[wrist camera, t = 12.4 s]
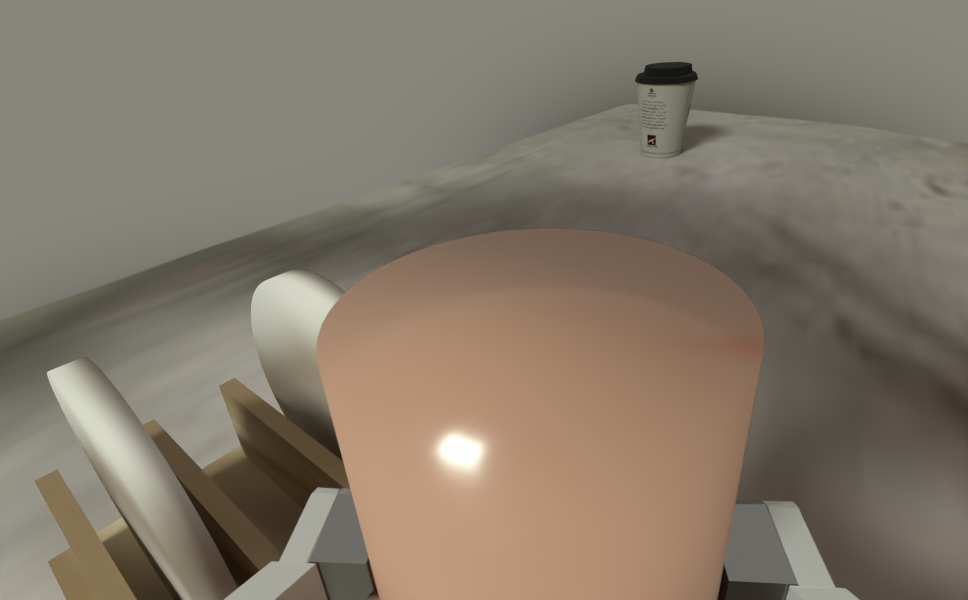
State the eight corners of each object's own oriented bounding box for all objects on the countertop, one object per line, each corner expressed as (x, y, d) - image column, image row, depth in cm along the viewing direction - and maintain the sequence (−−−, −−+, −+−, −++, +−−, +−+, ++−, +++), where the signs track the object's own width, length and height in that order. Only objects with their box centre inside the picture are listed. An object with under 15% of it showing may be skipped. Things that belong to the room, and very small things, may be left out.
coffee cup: (648, 163, 67) (654, 72, 62) (621, 150, 73) (625, 65, 68) (702, 155, 68) (712, 65, 63) (671, 142, 74) (678, 59, 69)
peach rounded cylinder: (611, 1009, 9) (654, 569, 4) (374, 776, 12) (223, 352, 7) (716, 701, 13) (809, 267, 8) (515, 582, 16) (485, 210, 11)
